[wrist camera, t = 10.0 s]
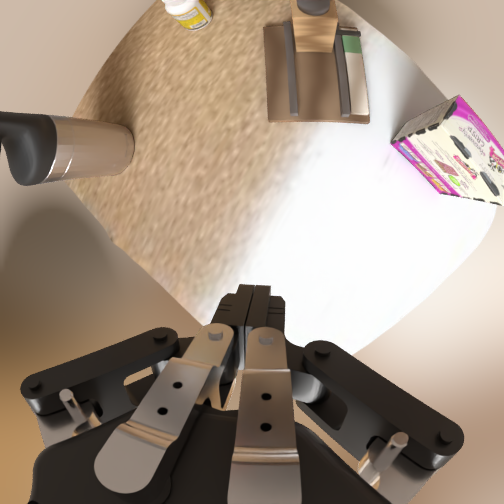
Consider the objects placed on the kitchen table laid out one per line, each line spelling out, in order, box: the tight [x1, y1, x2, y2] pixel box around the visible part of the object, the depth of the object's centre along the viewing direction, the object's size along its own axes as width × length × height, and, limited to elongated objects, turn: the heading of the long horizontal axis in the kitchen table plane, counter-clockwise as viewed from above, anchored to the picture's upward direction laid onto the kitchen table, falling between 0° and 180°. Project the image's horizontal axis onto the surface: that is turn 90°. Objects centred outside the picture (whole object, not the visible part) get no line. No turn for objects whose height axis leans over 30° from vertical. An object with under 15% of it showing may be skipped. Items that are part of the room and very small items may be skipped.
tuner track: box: [263, 21, 370, 124], centre depth 30 cm, size 14×16×4 cm
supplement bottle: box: [162, 0, 213, 31], centre depth 27 cm, size 5×5×10 cm
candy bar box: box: [391, 95, 504, 206], centre depth 24 cm, size 11×5×16 cm, turn 54°
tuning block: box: [290, 0, 361, 53], centre depth 23 cm, size 9×4×12 cm, turn 92°
